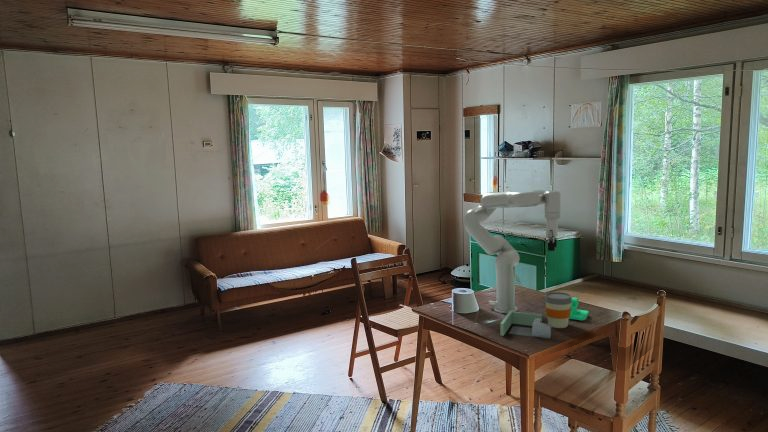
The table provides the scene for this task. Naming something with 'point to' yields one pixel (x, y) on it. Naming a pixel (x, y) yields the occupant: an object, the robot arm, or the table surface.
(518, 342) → the table surface
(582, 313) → the camera mount
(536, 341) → the table surface
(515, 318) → the corner walls
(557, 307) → the reusable coffee cup
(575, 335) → the table surface
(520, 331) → the mat
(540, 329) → the bracket
